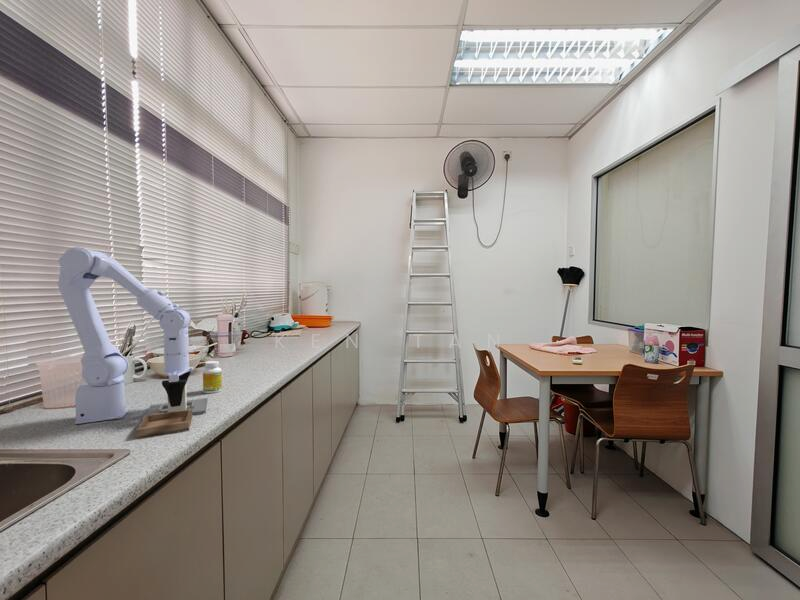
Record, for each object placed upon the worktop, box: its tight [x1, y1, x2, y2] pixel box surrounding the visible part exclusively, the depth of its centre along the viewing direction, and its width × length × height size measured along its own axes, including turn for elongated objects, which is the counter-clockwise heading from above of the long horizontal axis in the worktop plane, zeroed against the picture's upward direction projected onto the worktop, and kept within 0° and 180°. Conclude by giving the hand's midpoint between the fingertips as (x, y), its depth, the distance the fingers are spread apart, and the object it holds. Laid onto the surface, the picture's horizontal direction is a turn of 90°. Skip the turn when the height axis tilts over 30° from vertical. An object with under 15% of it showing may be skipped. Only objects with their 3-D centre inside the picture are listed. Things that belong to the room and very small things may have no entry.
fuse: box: [167, 383, 188, 412], centre depth 95 cm, size 4×4×8 cm
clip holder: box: [141, 397, 209, 421], centre depth 95 cm, size 14×12×2 cm
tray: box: [136, 408, 193, 439], centre depth 83 cm, size 10×10×2 cm
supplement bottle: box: [202, 360, 223, 394], centre depth 113 cm, size 5×5×10 cm
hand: (177, 401), depth 95 cm, fingers open, 7 cm apart
